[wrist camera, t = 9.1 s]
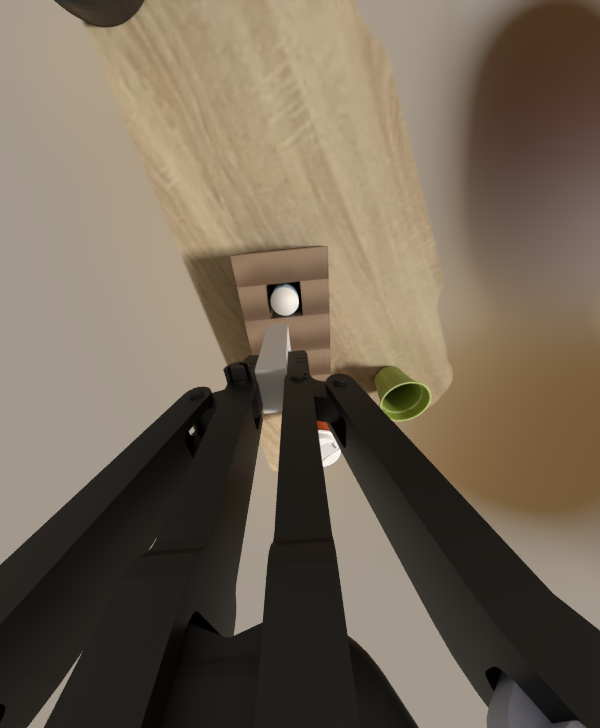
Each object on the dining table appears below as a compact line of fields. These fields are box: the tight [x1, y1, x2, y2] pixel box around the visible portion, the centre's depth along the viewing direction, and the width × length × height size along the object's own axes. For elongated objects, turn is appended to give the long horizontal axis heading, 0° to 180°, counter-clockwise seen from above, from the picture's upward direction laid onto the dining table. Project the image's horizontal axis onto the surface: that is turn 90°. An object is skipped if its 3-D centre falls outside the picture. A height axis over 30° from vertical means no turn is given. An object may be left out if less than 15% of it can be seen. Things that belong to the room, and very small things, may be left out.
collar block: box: [230, 246, 331, 381], centre depth 36 cm, size 22×12×10 cm, turn 5°
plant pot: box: [374, 366, 431, 421], centre depth 44 cm, size 9×9×9 cm
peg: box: [270, 282, 299, 316], centre depth 33 cm, size 4×4×10 cm
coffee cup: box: [317, 421, 341, 467], centre depth 44 cm, size 8×8×15 cm
